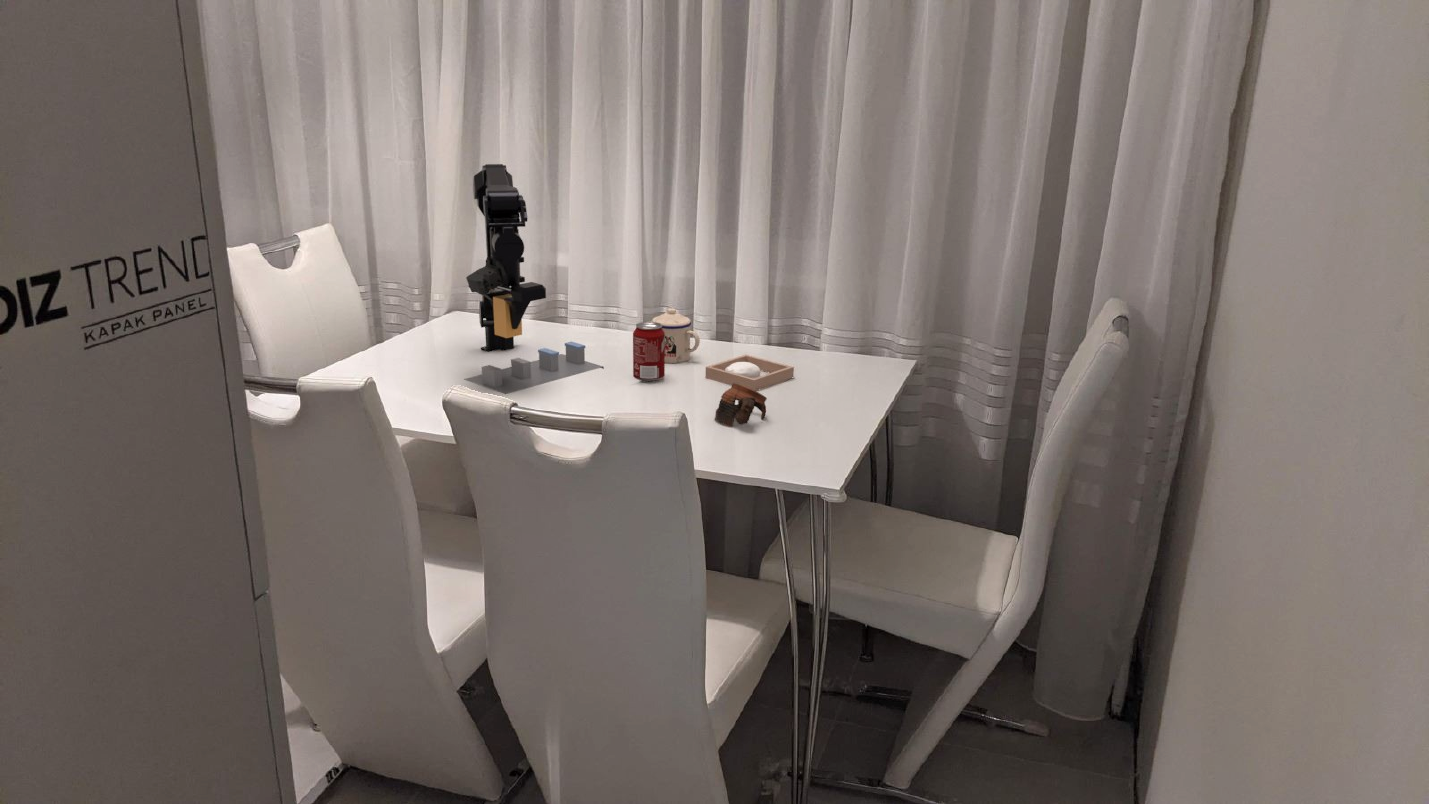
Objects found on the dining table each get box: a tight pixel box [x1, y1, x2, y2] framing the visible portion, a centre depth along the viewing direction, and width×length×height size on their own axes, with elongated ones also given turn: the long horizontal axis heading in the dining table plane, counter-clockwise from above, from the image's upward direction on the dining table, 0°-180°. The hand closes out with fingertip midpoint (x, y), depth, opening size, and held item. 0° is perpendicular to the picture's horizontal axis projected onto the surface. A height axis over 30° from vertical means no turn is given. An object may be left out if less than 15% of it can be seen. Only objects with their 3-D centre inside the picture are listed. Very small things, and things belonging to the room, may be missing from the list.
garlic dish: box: [705, 354, 795, 392], centre depth 232 cm, size 14×14×2 cm
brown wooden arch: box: [714, 383, 768, 428], centre depth 205 cm, size 12×10×8 cm
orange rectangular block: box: [493, 294, 523, 338], centre depth 220 cm, size 4×4×8 cm
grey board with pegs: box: [463, 340, 605, 395], centre depth 229 cm, size 14×27×5 cm, turn 139°
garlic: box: [725, 362, 761, 379], centre depth 231 cm, size 8×7×4 cm
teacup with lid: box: [651, 307, 701, 364], centre depth 243 cm, size 12×9×12 cm
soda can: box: [632, 321, 666, 383], centre depth 228 cm, size 7×7×12 cm
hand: (508, 326), depth 221 cm, fingers closed on orange rectangular block, 4 cm apart
